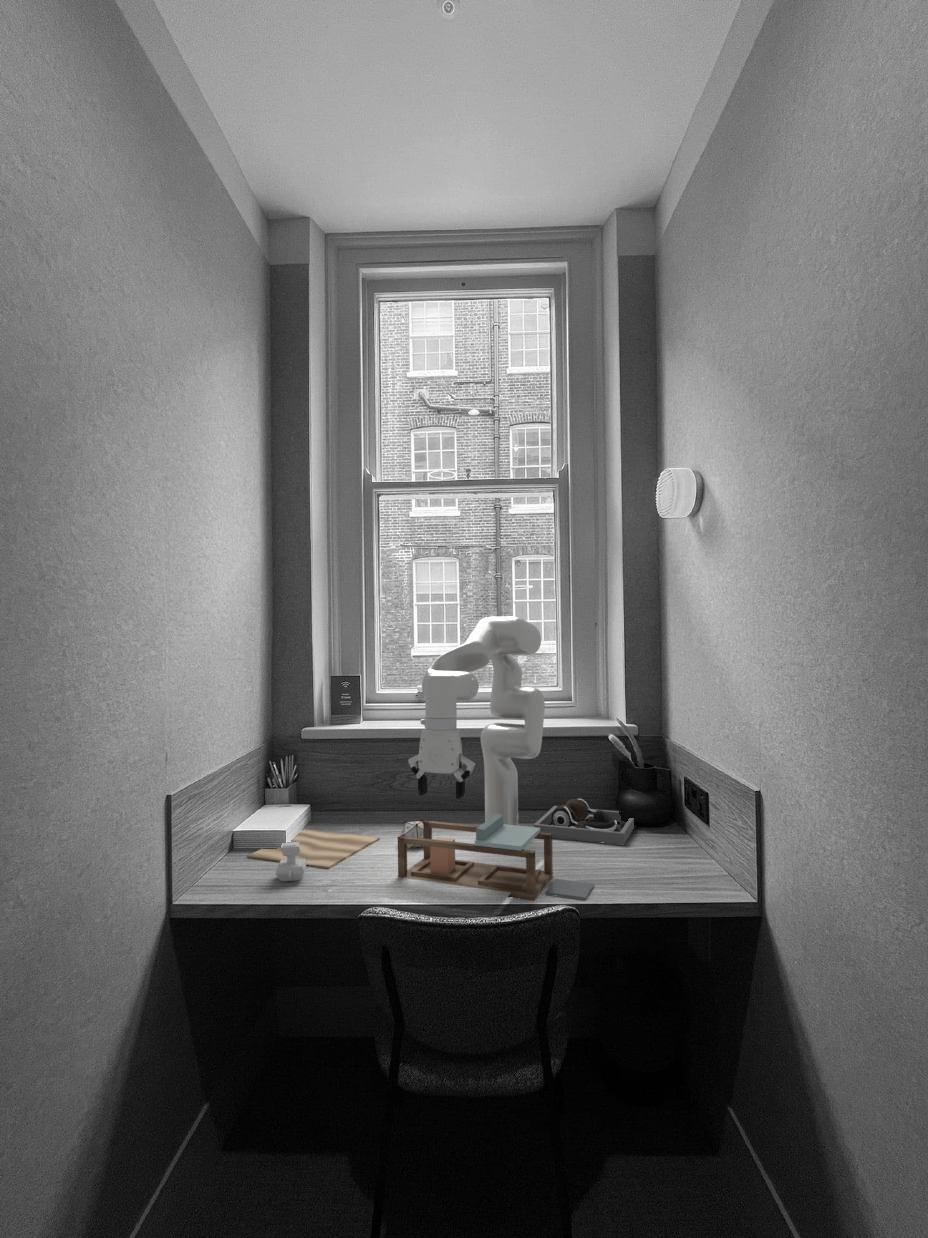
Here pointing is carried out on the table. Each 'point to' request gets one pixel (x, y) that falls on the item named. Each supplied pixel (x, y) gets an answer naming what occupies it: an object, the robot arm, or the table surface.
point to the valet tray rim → (586, 834)
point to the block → (442, 858)
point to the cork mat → (320, 848)
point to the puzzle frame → (478, 864)
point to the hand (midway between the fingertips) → (441, 796)
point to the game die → (413, 831)
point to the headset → (582, 816)
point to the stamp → (291, 863)
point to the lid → (504, 834)
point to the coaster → (570, 889)
